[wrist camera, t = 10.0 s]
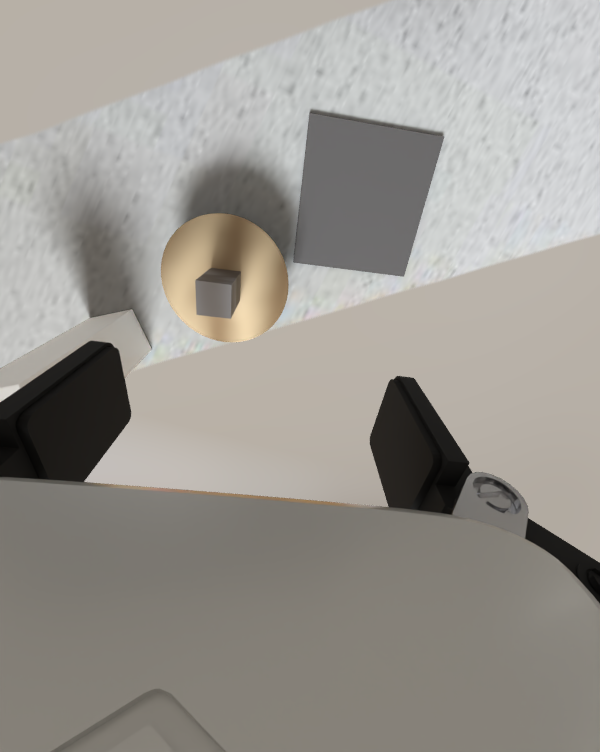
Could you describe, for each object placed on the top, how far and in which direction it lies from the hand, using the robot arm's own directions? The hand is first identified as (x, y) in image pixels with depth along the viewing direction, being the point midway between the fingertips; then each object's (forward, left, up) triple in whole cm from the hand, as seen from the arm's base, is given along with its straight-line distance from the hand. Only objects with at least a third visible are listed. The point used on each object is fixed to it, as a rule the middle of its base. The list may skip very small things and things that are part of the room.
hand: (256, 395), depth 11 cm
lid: (+5, +2, -24) cm, 24 cm away
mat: (-9, -7, -30) cm, 32 cm away
